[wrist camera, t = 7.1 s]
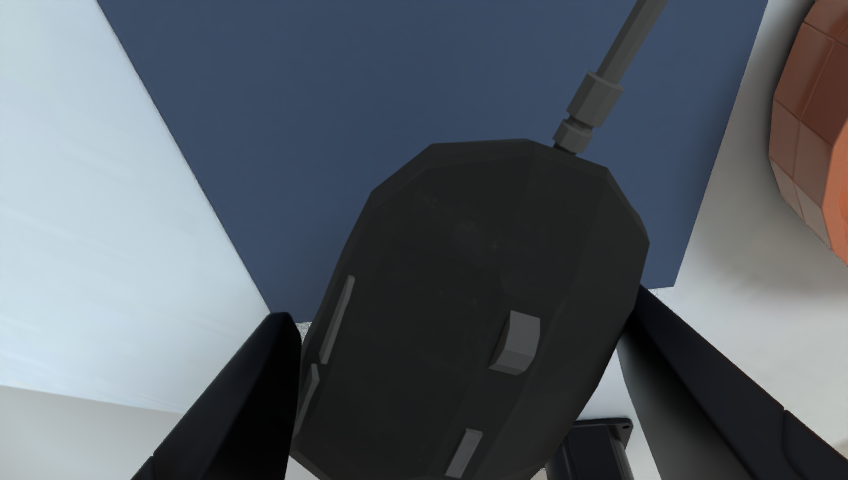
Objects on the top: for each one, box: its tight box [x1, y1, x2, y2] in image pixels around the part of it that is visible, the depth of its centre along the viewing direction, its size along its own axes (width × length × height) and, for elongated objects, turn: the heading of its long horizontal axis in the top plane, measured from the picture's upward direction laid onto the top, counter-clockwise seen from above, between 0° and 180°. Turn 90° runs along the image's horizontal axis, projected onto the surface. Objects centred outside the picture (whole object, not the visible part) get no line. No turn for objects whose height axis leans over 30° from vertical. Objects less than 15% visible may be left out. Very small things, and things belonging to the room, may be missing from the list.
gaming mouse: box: [289, 0, 668, 480], centre depth 10 cm, size 6×15×4 cm, turn 160°
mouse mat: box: [97, 0, 768, 323], centre depth 17 cm, size 22×20×1 cm
